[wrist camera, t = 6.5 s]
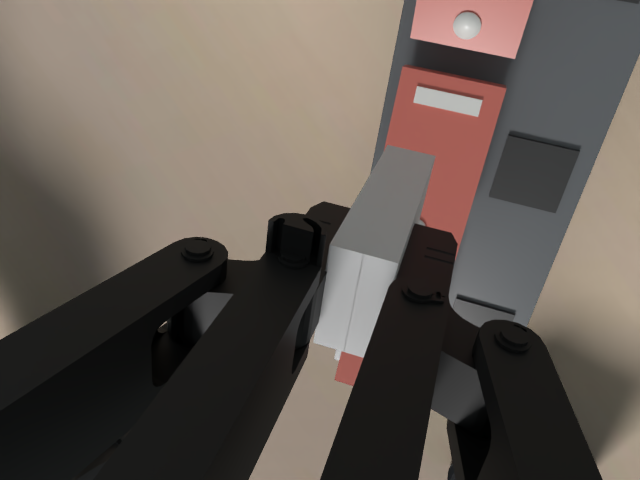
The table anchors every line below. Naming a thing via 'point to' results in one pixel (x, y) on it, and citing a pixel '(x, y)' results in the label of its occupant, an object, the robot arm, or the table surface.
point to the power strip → (529, 142)
